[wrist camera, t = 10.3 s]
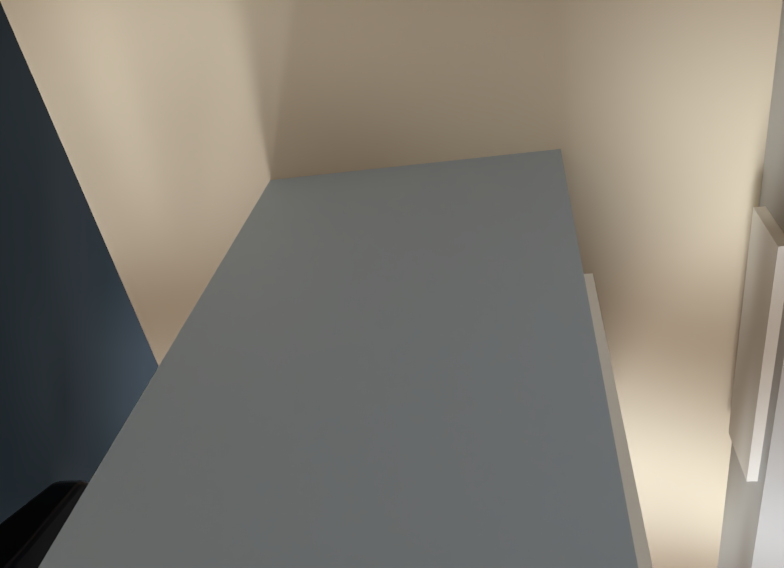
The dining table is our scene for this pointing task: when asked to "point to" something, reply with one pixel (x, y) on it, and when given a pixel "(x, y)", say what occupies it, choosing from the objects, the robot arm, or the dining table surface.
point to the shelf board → (475, 140)
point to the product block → (380, 390)
